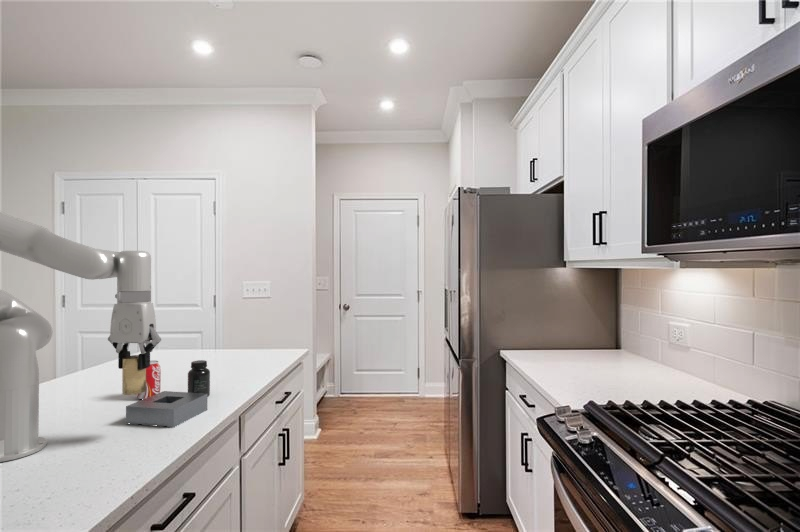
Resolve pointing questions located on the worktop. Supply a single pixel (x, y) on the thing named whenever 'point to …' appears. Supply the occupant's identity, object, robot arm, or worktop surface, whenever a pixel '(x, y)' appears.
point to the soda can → (152, 380)
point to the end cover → (132, 376)
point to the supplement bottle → (199, 378)
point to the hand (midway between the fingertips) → (134, 367)
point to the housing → (166, 408)
